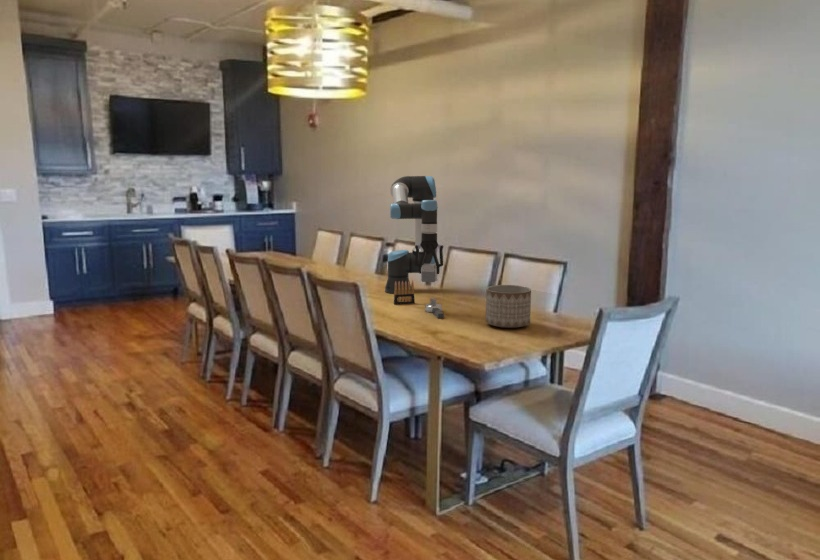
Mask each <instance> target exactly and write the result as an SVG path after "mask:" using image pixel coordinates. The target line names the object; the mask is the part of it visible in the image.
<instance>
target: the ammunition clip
mask: <svg viewBox="0 0 820 560" xmlns="http://www.w3.org/2000/svg"><path fill="white" fill-rule="evenodd" d="M410 284H411V288H410ZM414 285H415V284H414V280H411V281H410V280H409V282H408V290H407V282H406V281H405V288H404V283H403V281H402V285H401V288H400V281H399V282H398V294H397V283H396V281H395V288H394V294H393V304H394V305H396V306H397V305H410V304H411V305H413V304H414V305H415V303H416V302H415V299H416V298H415V286H414Z"/></svg>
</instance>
